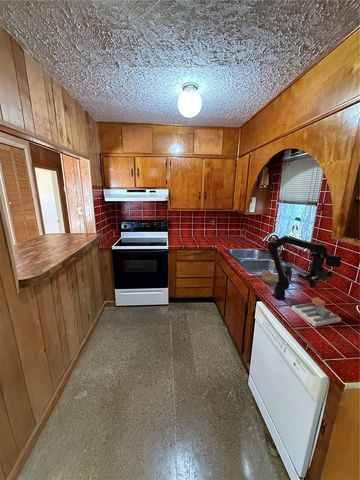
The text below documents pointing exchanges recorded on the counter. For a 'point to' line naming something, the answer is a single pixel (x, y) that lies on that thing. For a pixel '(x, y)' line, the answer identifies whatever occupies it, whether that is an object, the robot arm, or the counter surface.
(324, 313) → the fader grey
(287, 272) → the supplement bottle
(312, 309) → the console
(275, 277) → the sponge
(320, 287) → the counter surface
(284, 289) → the robot arm
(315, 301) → the fader orange
